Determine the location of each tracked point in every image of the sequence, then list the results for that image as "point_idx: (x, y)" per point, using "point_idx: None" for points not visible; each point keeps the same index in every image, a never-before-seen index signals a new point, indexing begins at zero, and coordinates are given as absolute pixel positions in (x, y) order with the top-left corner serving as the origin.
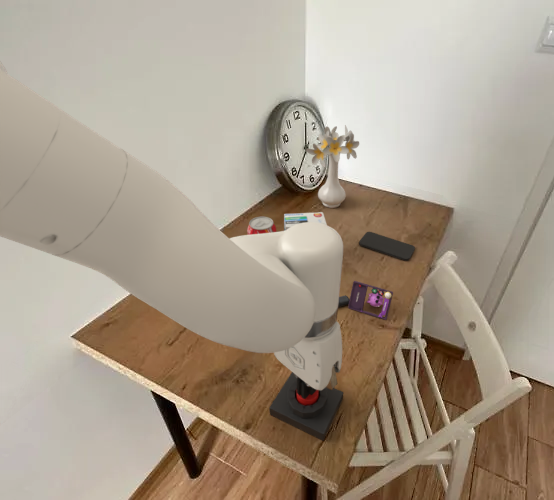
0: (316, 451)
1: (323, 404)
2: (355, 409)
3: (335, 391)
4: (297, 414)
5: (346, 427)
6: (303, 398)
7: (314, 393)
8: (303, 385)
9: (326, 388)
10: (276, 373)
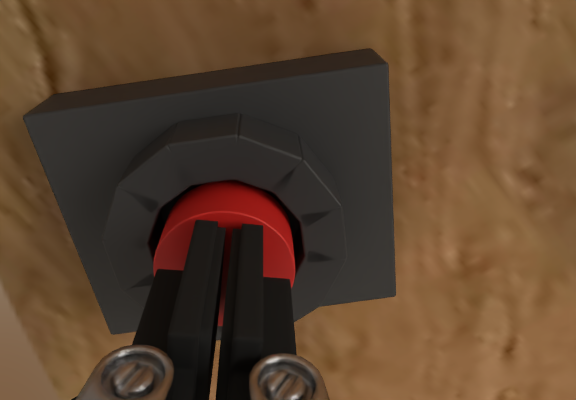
0: (40, 30)
1: (106, 249)
2: (51, 288)
3: None
4: (209, 122)
5: (20, 206)
6: (200, 221)
7: None
8: (179, 328)
9: None
10: (465, 233)
